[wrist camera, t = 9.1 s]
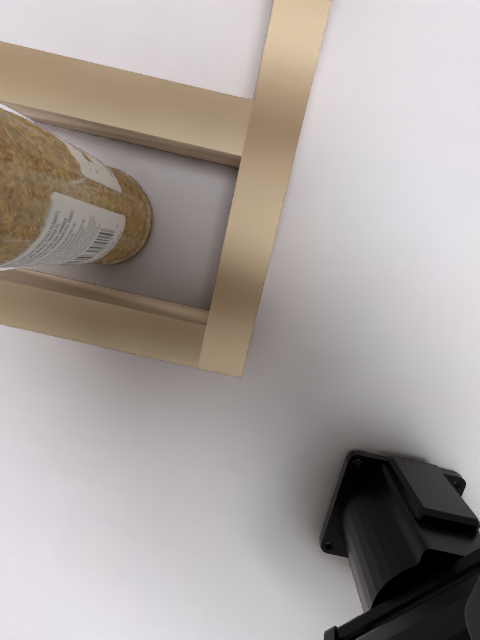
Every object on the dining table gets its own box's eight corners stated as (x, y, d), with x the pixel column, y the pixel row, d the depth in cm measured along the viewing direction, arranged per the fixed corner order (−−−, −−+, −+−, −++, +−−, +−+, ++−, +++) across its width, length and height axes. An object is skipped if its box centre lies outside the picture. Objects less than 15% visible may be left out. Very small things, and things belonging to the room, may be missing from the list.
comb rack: (243, 356, 20) (241, 378, 17) (18, 305, 19) (-25, 318, 16) (352, -106, 15) (376, -188, 12) (59, -177, 15) (10, -278, 12)
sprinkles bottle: (137, 157, 18) (-264, -159, 4) (165, 252, 18) (-111, 235, 5) (49, 184, 18) (-555, -22, 5) (79, 276, 19) (-383, 319, 5)
